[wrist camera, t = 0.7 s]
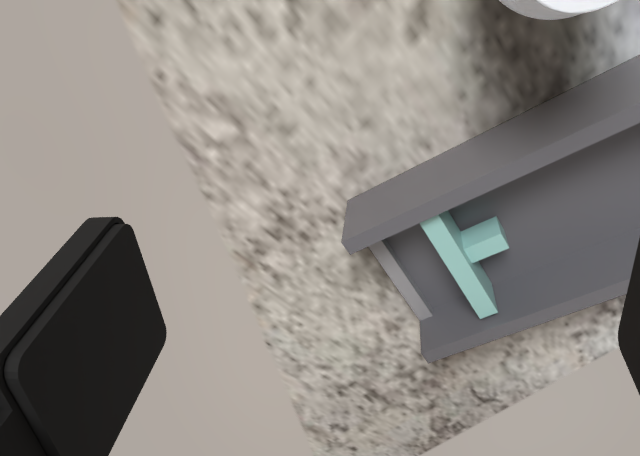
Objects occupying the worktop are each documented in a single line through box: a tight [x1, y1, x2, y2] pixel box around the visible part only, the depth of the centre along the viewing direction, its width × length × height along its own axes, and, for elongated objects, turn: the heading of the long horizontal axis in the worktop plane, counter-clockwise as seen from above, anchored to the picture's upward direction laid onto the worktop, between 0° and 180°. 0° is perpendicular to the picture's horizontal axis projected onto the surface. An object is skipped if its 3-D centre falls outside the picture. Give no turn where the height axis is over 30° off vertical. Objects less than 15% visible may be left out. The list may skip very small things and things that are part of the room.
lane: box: [341, 55, 640, 363], centre depth 32 cm, size 26×11×7 cm, turn 123°
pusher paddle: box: [420, 210, 509, 319], centre depth 35 cm, size 4×8×3 cm, turn 33°
